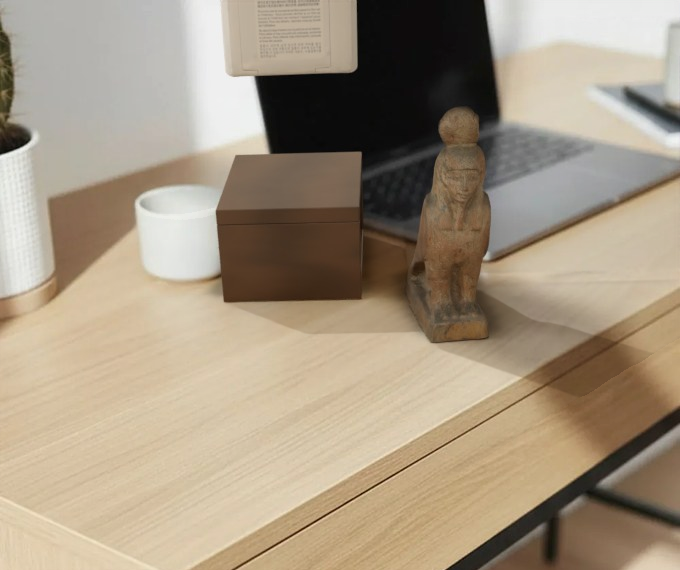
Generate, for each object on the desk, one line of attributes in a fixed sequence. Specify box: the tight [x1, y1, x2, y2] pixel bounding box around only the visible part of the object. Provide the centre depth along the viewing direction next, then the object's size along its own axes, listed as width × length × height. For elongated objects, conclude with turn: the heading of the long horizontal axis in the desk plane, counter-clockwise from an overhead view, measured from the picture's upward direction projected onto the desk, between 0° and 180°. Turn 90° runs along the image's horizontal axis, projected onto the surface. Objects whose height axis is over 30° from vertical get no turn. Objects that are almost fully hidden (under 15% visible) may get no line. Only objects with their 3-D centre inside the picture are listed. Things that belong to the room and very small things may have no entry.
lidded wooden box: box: [215, 151, 365, 303], centre depth 100 cm, size 11×15×8 cm
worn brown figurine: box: [404, 105, 492, 343], centre depth 88 cm, size 12×6×18 cm, turn 2°
